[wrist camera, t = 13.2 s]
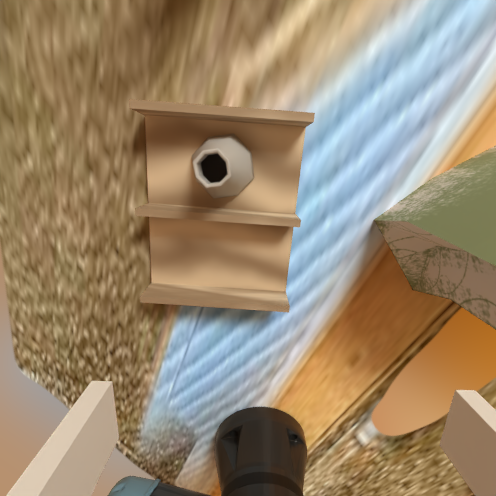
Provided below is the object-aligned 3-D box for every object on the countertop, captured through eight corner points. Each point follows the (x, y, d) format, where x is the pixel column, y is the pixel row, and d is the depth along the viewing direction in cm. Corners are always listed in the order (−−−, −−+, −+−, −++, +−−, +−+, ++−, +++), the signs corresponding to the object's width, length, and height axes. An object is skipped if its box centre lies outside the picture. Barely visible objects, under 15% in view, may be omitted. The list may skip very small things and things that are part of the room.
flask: (211, 208, 33) (195, 226, 24) (181, 152, 31) (151, 147, 22) (264, 181, 32) (270, 189, 23) (237, 122, 30) (231, 103, 21)
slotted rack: (283, 292, 38) (288, 312, 33) (154, 284, 38) (140, 302, 33) (304, 120, 31) (314, 113, 26) (148, 109, 31) (129, 99, 26)
